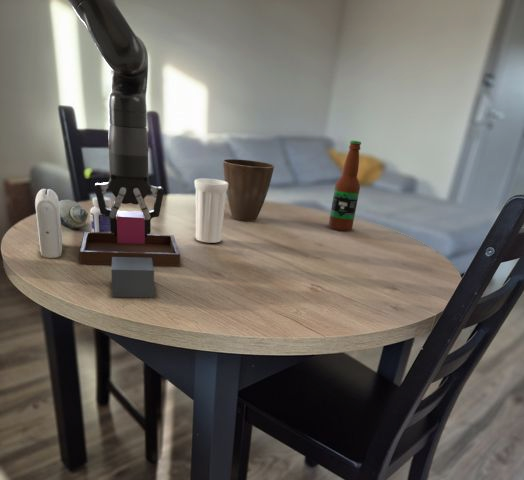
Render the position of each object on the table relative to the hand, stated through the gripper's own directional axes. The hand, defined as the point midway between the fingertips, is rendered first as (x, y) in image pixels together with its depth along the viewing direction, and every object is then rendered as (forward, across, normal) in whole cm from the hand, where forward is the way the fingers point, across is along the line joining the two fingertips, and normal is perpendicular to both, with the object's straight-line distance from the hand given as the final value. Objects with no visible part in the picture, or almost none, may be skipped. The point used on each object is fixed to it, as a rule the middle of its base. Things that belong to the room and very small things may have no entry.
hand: (130, 235), depth 103 cm
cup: (+4, -19, -13) cm, 23 cm away
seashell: (+4, +14, -21) cm, 26 cm away
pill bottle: (+4, +6, -13) cm, 15 cm away
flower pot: (+5, -34, -39) cm, 52 cm away
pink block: (+1, 0, 0) cm, 1 cm away
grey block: (+4, 0, +21) cm, 22 cm away
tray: (+4, 0, 0) cm, 4 cm away
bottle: (+5, -63, -32) cm, 71 cm away
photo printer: (+4, +16, -1) cm, 17 cm away
